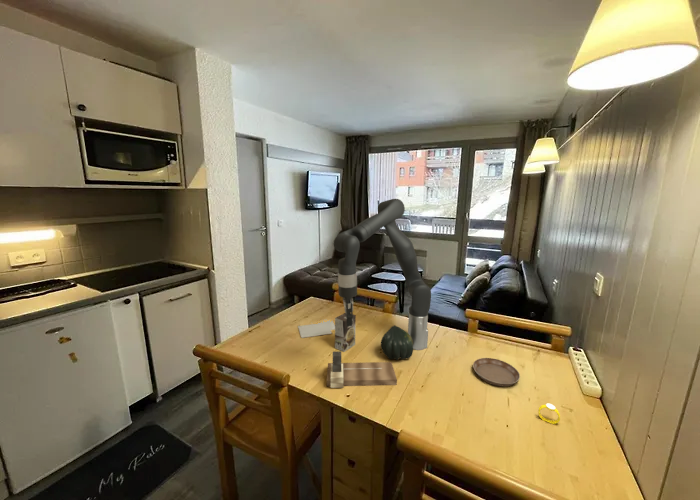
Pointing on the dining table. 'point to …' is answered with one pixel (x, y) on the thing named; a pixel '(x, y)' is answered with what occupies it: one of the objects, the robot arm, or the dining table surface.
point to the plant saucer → (496, 371)
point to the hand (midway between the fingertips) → (348, 321)
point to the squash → (397, 344)
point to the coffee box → (344, 333)
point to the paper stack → (316, 329)
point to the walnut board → (366, 374)
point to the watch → (552, 408)
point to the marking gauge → (337, 371)
